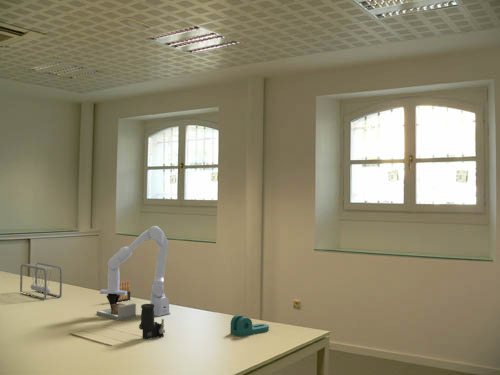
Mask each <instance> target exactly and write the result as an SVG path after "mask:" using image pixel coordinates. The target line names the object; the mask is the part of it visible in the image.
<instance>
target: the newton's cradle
mask: <svg viewBox="0 0 500 375" xmlns="http://www.w3.org/2000/svg"><path fill="white" fill-rule="evenodd" d="M23 267H26V268H30V272H31V273H33V272H32V270H34V276H35V279H34V278H33V275H31V277H32V279H34V282H32V284H31V285H30V289H31V291H36V292H37V291H39V292H38V293H40V292H43V293H42V294H43V295H44V296H43V297H42V296H38V295H36V294H32V293H26V294H29V295H32V296H35V297H38V298H37V299H39V298H41V299H40V300H42V299H45V300H48V298H49V297H47V294H49V295H48V296H51V295H53V296H51V297H50V299H54V298H55V299H56V298H59V297H60V298H62V294H63V269H62V267H61V266H57V265H52V264H46V263H41V262H36V263H35V265H33V263H27V264H24V263H22V264H21V265H20V270H19V272H20V278H19V279H20V281H19V287H20V288H19V292H20V293H21V292H23V293H24V292H25V291H23V270H24V269H23ZM54 269H58V270H59V295H58V294H55V293H51V290H52V289H51V287H49V286H48V285H49V284H50V282H48V283H47V281H48V280H50V279H51V276H49V278H47V277H48V270H54ZM38 270H40V272H39V271H38ZM42 271H43V272H42ZM38 272H39V273H40V274H38ZM51 273H52V271H50V273H49V274H51ZM42 274H43V275H42ZM43 276H44V277H43ZM40 277H41V279H42V280H41V282H40V280H38V279H40ZM43 278H44V282H43ZM55 296H56V297H55ZM35 297H34V298H35Z"/></svg>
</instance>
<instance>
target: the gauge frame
mask: <svg viewBox="0 0 500 375" xmlns="http://www.w3.org/2000/svg"><path fill="white" fill-rule="evenodd" d="M136 307H137V304H136V303H128V304H126V305H122V306H118V314H114V313H113V314H111V308H107V309H101V310H97V311H96V315H98V316H101V317H105V318H109V319H113V320H116V321H120V322H121V321H127V320H131V319H135V318H137V314H136V313H137V312H136V311H137V308H136Z"/></svg>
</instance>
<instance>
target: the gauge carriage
mask: <svg viewBox="0 0 500 375" xmlns="http://www.w3.org/2000/svg"><path fill="white" fill-rule="evenodd" d="M122 305H127V304H125V303H122V302H118V303H117V304H112V305H111V307H110V309H111V314H113V313H114V314H118V306H122Z"/></svg>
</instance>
